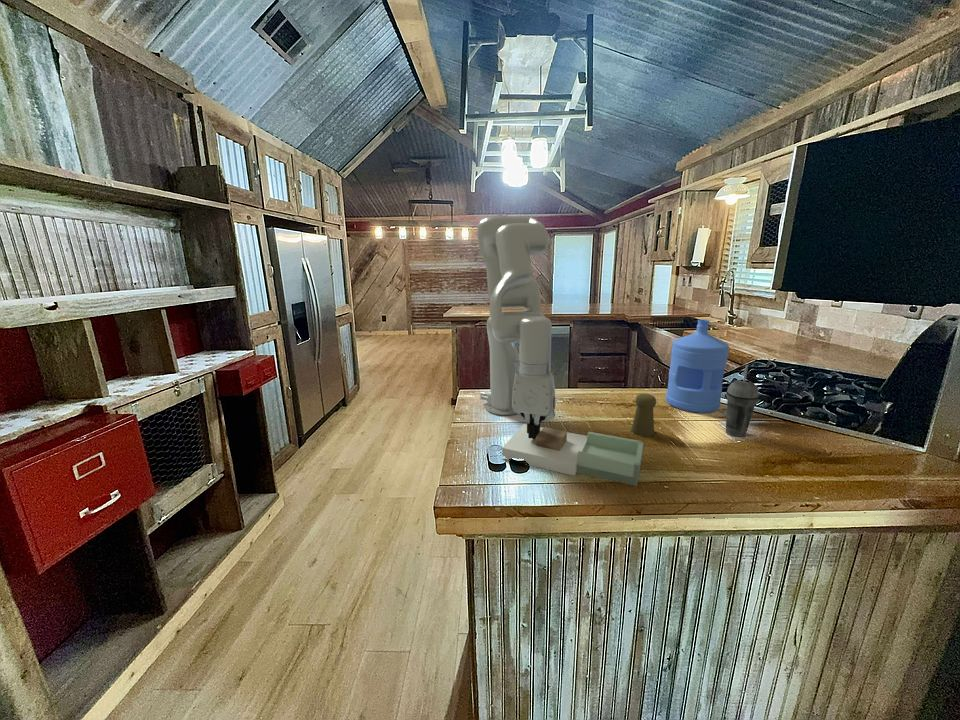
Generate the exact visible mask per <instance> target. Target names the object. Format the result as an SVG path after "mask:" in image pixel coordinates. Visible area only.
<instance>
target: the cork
mask: <svg viewBox="0 0 960 720" xmlns="http://www.w3.org/2000/svg"><path fill="white" fill-rule="evenodd" d="M656 404H657V399H656V397H655V396H654V395H653V394H650V393H639V394H638V395H637V396H636V397H635V405H636V409H635V414H634V417H633V420H632V421H633V422H632V424H631V430H630V431H631V433H632V432H633V433H632V434H634V435H636V436H638V437H639V436H640V437H644V436H645V438H646V437H647V436H649V437H652V436H651V435H653V434H654V435H655V421H654V420H655V419H654V408H655V407H656ZM654 435H653V436H654Z"/></svg>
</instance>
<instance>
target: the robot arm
mask: <svg viewBox="0 0 960 720" xmlns="http://www.w3.org/2000/svg"><path fill="white" fill-rule="evenodd" d="M548 234H549V233H548V231H547V229H546V227H545V225H544V224H543V223H542V222H540V221H539V220H537V219H536V218H534V217H533V216H527V215H525V216H522V215H521V216H519V215H518V216H516V215H515V216H514V215H511V216H507V215H505V216H504V215H502V216H497V215H496V216H489V217H485V218H482V219H481V220H480V221H479V223H478V225H477V243H478V248H479V250H480V253H481V256H482V258H483V261H484V264H485V268H486V281H487V292H488V300H489V307H488V308H489V317H488V318H487V320H486V332H487V333H486V334H487V338H488V345H489V346H488V347H489V375H490V376H489V382H490V383H489V384H490V385H489V386H490V388H489V389H490V390H489V392H486V391H481V392H480V393H479V396H480V397H479V398H480V400H481V401H487V402H486V403H485V409H486V410H487V411H488V412H489V413H491V414H494V415H500V416H512V415H517V414H518V415H520V416H521V417H522V418H523V420H524V422H525V424H527V433H528V438H532V439H535V438H536V436H537V435H538V434H539V433H540V427H541V423H542V422H543V421H545V420H554V418H556V413H555V408H556V388H555V379H554V374H553V373H552V372H551V365H552V364H551V363H552V362H551V357H552V356H551V355H552V329H553V328H552V326H553V325H552V321H551V319H550V318H549V317H546V316H545V314H544V313H543V311H542V300H541V292H540V290H541V289H540V286H539V283H538V282H537V280H536V279H535V278H533V277H534V271H533V265H532V260H531V256H534V255H536V256H537V255H538V256H539V255H543V254H544V253H546V252H547V250H548V248H549V241H550V240H549V235H548ZM518 308H519V309H520V308H522V309H523V310H522V311H503V309H518ZM515 343H516V344H517V343H518V344H519V347H518V351H517V349H516V348H515V346H513V344H515Z"/></svg>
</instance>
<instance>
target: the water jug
mask: <svg viewBox="0 0 960 720" xmlns="http://www.w3.org/2000/svg"><path fill="white" fill-rule="evenodd" d="M709 323H710V320H709V319H697V325H696V331H695V332H694V333H691V334H688V335H685V336H681V337H678V338H675V339H674V340H673V341H672V345H671V357H670V365H669V370H668V380H667V381H668V383H667V389H666V390H667V391H666V395H665V401H666V402H667V403H668V404H669V405H670V406H672V407H674V408H676V409H678V410H682V411H686V412H690V413H696V414H697V413H699V414H700V413H701V414H705V413H713V412H716V411H718V410H719V409H720V408H721V403H722V401H721V399H722V392H723V381H724V380H723V379H724V373H725V368H727V362H728V361H727V360H728V357H729V349H730V346H729V344H728V343H726V342H725V341H723V340H722V339H719V338H717V337H715V336H714V335H712V334H710V333H709V332H708V331H709Z"/></svg>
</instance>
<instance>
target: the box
mask: <svg viewBox="0 0 960 720" xmlns="http://www.w3.org/2000/svg"><path fill="white" fill-rule="evenodd" d="M586 436H587V445H586V447H585V449H584V451H583V452H580V451H578V456H577V473H578V474H582V475H585V476H590V477H595V478H599V479H602V478H603V480H606V479H608V481H611V480H612V481H611V482H615V481H617V482H616V483H619V482H623V483H622V484H624V483H627V484H626V485H628V484H631V485H630V486H632V485H635V486H634V487H638V483H639V480H640V479H639V478H640V471H641V466H642V459H643V451H644V442H645V441H642V440H636V439H632V438H625V437H621V436H615V435H610V434H603V433H599V432H592V431H588V432H587V435H586ZM577 473H576V474H577Z"/></svg>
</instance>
